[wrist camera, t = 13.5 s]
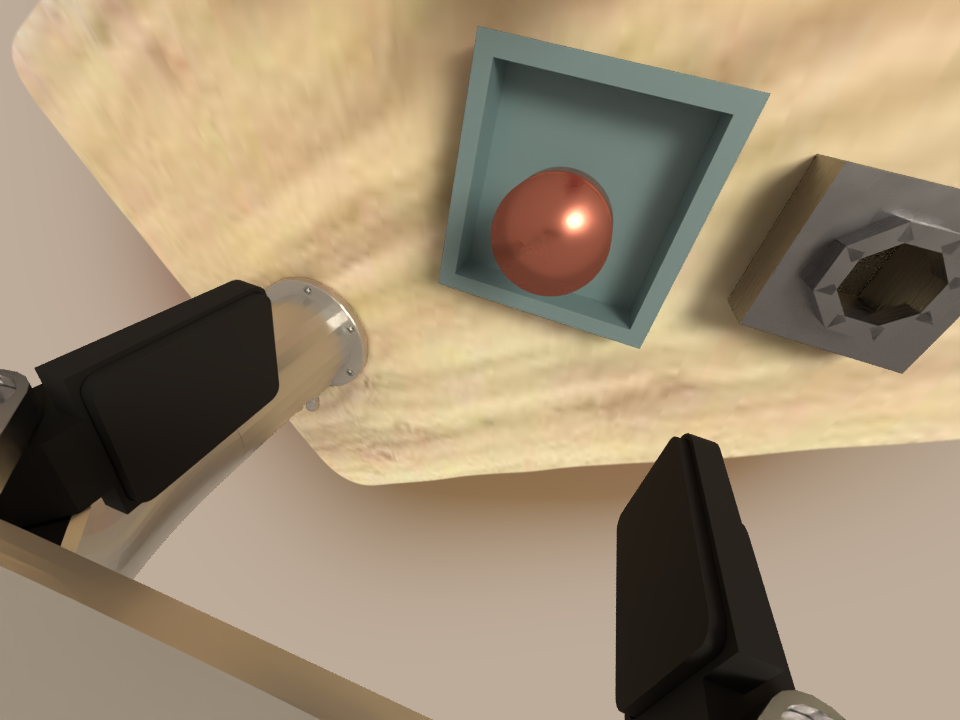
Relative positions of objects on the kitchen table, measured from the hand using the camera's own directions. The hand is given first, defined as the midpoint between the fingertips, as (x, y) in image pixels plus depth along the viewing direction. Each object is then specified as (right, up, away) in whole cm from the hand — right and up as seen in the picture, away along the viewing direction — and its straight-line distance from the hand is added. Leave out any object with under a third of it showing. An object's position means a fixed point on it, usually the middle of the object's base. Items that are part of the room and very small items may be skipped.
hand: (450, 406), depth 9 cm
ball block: (+25, +8, +18) cm, 31 cm away
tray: (+8, +13, +21) cm, 25 cm away
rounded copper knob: (+7, +13, +20) cm, 25 cm away
